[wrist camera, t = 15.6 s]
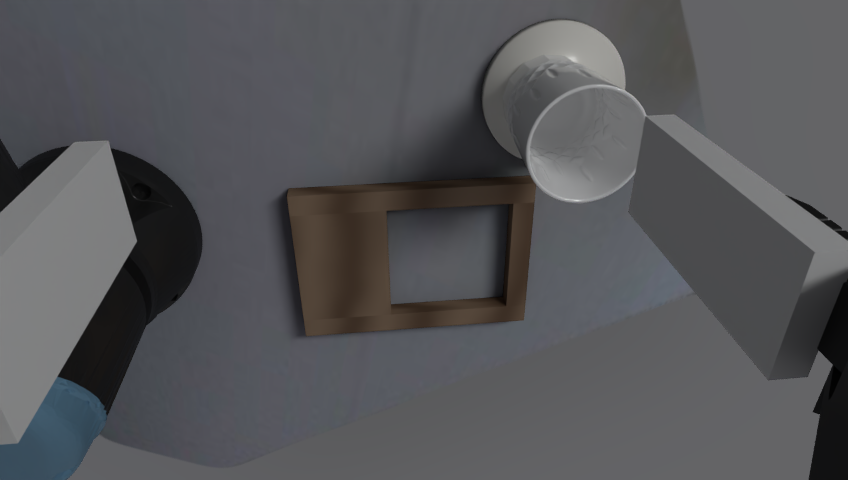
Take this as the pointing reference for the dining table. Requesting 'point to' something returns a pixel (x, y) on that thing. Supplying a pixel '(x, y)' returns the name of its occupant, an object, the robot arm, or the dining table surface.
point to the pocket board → (369, 262)
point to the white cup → (573, 128)
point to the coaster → (536, 41)
